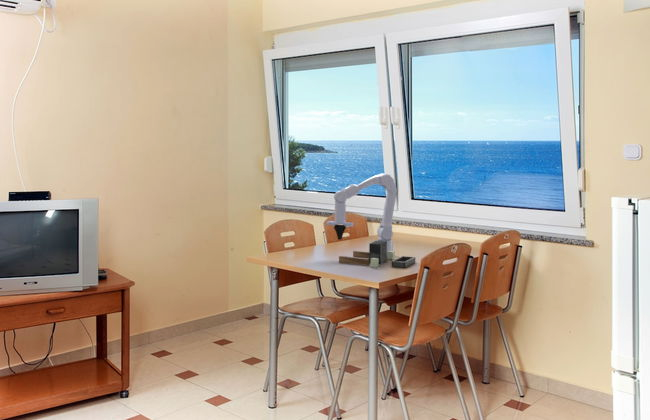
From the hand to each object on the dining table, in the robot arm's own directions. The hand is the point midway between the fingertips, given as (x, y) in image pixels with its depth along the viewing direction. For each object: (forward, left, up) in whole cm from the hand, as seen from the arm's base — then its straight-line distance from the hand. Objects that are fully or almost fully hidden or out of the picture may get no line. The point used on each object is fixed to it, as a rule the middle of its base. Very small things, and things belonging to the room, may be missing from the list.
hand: (339, 239), depth 334 cm
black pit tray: (+4, +37, -9) cm, 38 cm away
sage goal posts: (+4, +26, -9) cm, 28 cm away
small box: (+4, +23, -10) cm, 26 cm away
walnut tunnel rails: (+4, +14, -9) cm, 17 cm away
